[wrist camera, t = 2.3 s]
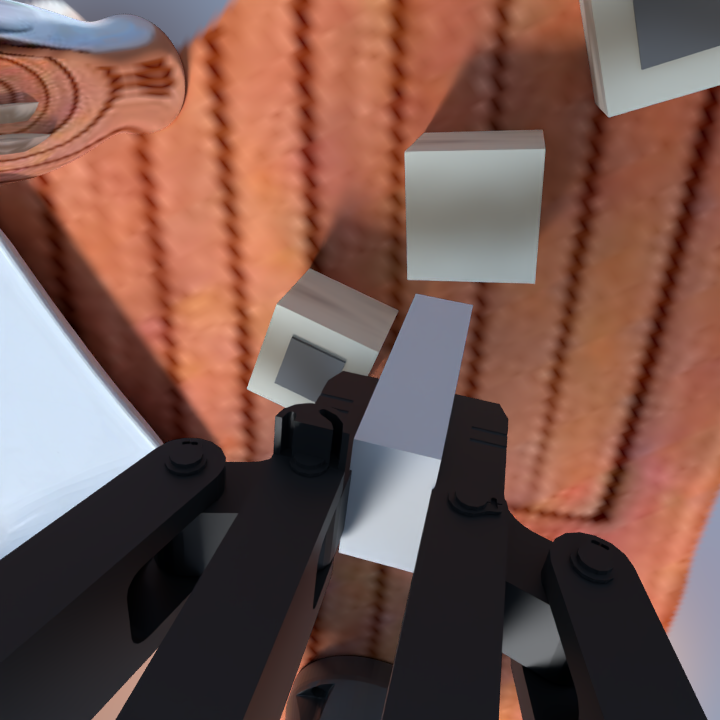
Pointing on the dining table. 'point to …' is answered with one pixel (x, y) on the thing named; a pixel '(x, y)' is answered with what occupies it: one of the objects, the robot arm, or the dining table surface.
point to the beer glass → (79, 85)
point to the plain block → (474, 205)
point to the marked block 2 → (650, 50)
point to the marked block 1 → (318, 339)
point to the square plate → (53, 411)
